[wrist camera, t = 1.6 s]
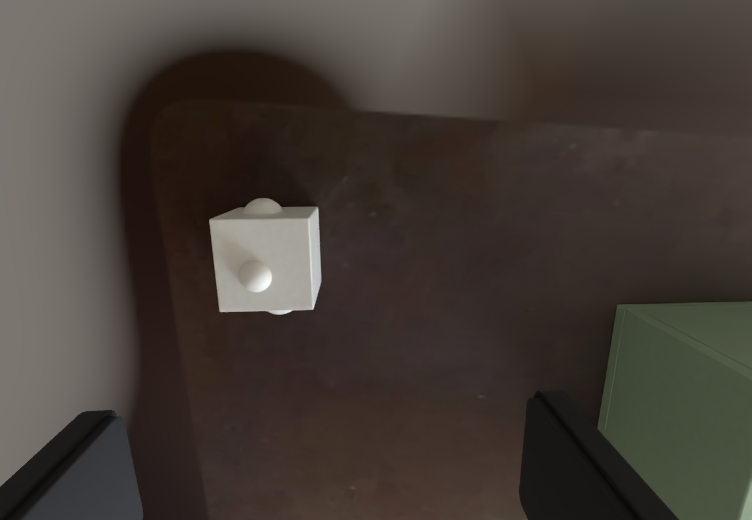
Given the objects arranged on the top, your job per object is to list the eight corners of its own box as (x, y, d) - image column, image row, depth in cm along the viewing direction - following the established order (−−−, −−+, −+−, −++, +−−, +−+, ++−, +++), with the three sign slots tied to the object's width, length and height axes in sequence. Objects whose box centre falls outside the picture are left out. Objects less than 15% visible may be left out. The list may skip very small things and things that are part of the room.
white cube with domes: (236, 195, 22) (201, 205, 17) (317, 194, 22) (306, 204, 17) (246, 297, 24) (216, 334, 19) (322, 296, 24) (313, 332, 19)
